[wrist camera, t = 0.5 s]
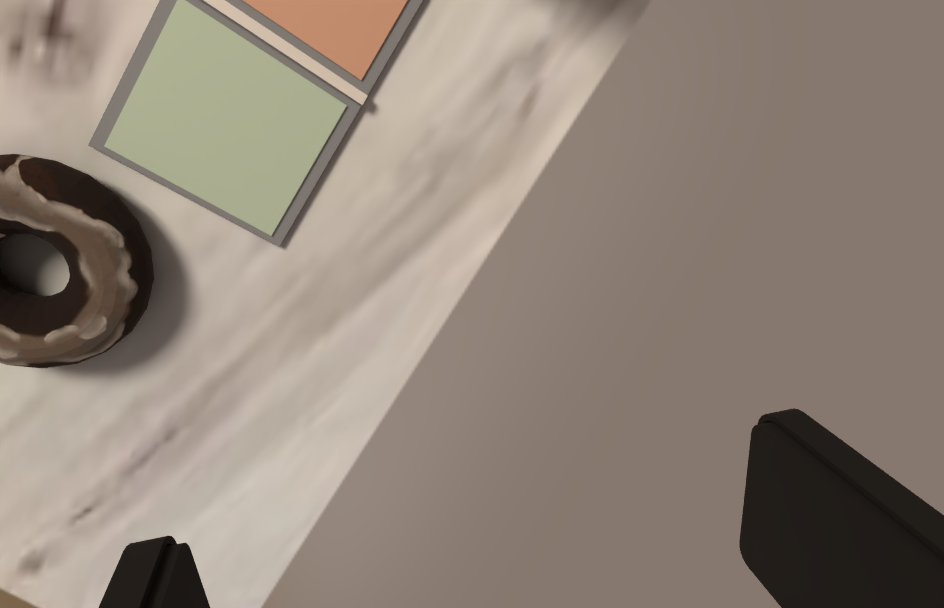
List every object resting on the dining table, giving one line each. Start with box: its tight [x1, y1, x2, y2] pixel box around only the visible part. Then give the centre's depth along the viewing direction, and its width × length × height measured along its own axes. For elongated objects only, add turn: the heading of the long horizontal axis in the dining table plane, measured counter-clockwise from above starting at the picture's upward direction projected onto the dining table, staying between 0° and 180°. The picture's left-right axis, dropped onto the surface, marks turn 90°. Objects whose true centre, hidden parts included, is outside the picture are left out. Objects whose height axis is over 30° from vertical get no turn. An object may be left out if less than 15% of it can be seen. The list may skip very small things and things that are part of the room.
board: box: [89, 0, 423, 247], centre depth 32 cm, size 20×11×1 cm, turn 146°
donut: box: [0, 154, 154, 368], centre depth 33 cm, size 12×12×4 cm
